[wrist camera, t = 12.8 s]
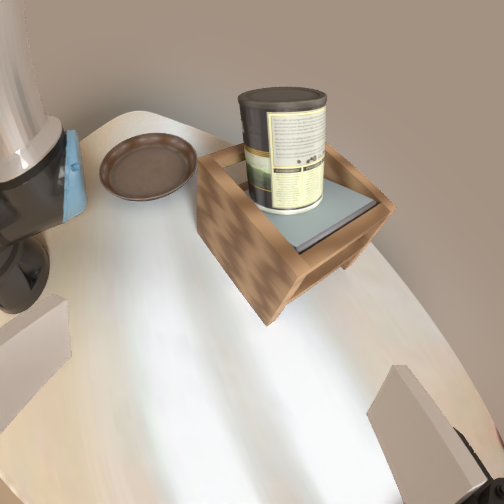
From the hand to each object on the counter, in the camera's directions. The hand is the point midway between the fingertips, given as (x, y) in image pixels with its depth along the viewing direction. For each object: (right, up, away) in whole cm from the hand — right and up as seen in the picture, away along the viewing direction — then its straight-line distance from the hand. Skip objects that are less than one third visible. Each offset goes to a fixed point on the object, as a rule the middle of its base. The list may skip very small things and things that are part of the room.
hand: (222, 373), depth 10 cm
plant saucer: (-21, +21, +45) cm, 54 cm away
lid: (+8, +11, +28) cm, 31 cm away
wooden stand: (+5, +5, +39) cm, 40 cm away
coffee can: (+6, +12, +29) cm, 32 cm away
